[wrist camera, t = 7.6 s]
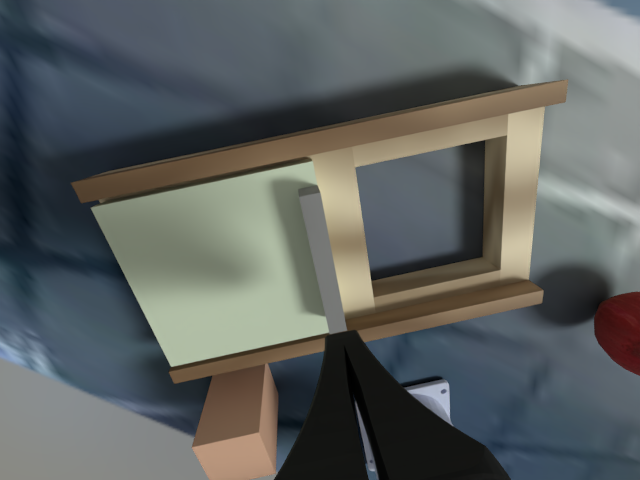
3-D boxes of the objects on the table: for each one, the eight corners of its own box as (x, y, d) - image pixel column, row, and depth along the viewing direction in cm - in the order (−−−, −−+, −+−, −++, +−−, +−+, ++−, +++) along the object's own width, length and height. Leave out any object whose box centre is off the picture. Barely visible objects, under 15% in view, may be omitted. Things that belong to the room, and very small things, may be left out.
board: (508, 277, 23) (541, 303, 20) (190, 347, 22) (174, 383, 19) (519, 85, 18) (568, 79, 15) (109, 171, 17) (70, 183, 14)
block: (278, 394, 25) (275, 473, 19) (230, 404, 25) (213, 487, 19) (265, 357, 23) (259, 432, 18) (214, 368, 23) (191, 447, 18)
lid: (342, 317, 20) (350, 346, 18) (177, 352, 20) (161, 388, 17) (311, 158, 16) (315, 166, 13) (104, 201, 16) (68, 217, 13)
